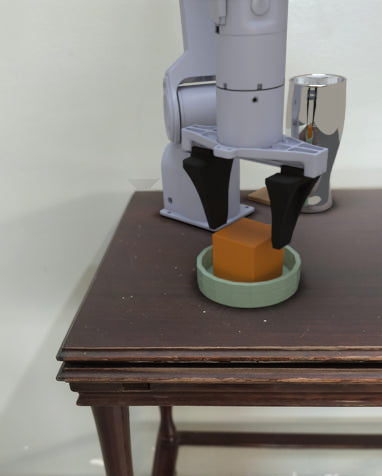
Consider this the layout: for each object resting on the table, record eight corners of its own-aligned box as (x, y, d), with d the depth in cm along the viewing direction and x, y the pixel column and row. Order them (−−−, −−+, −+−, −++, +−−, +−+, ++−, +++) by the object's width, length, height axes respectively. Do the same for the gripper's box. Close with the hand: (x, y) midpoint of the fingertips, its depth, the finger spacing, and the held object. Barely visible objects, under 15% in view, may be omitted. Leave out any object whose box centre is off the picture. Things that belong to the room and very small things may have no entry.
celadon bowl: (176, 286, 58) (175, 264, 57) (239, 250, 64) (239, 229, 63) (258, 320, 52) (259, 296, 51) (318, 276, 58) (320, 254, 57)
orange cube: (213, 279, 58) (211, 234, 55) (243, 261, 61) (243, 217, 58) (253, 294, 55) (254, 247, 52) (282, 274, 58) (284, 229, 55)
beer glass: (330, 193, 77) (342, 71, 68) (340, 213, 71) (354, 84, 63) (278, 195, 77) (283, 74, 69) (284, 215, 71) (290, 87, 63)
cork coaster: (246, 199, 76) (247, 195, 76) (264, 190, 79) (264, 186, 78) (271, 206, 74) (271, 201, 74) (288, 196, 77) (289, 192, 76)
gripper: (154, 84, 49) (165, 231, 57) (298, 104, 41) (288, 272, 49) (207, 70, 53) (211, 208, 61) (347, 85, 45) (331, 243, 53)
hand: (248, 235), depth 55 cm, fingers open, 7 cm apart
